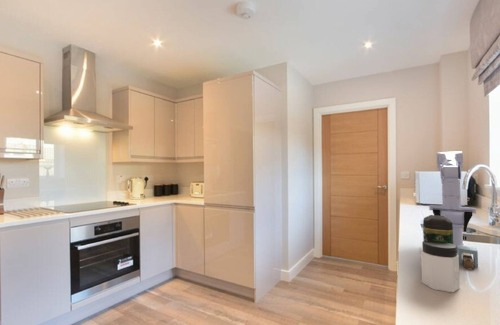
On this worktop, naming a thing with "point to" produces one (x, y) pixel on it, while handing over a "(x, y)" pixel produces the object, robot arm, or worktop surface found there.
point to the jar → (440, 266)
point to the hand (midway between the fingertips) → (452, 229)
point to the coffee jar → (437, 229)
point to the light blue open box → (470, 251)
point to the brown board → (468, 261)
